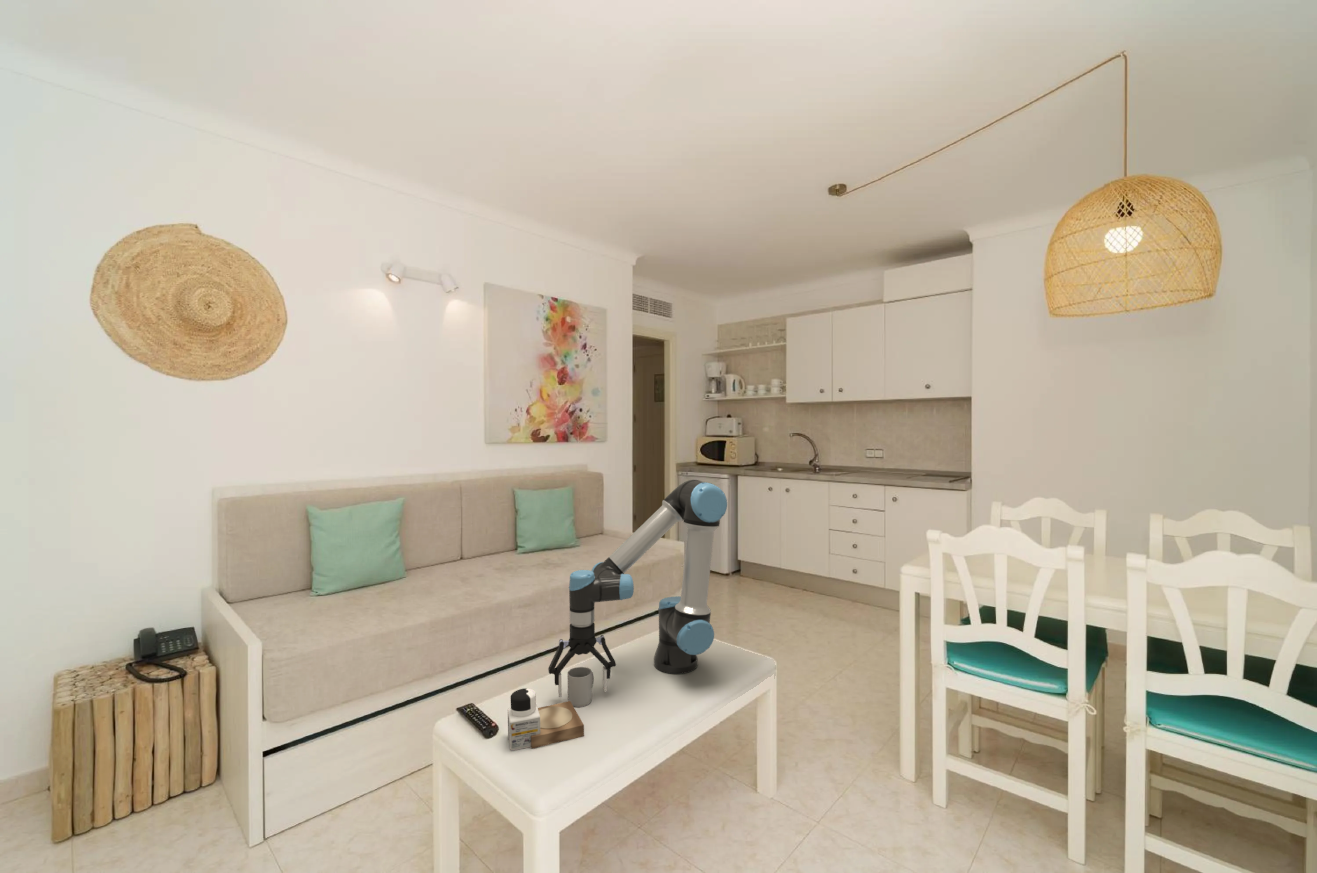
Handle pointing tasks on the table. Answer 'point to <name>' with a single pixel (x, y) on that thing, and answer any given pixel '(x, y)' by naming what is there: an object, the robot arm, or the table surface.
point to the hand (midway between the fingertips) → (582, 692)
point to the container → (523, 719)
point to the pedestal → (557, 724)
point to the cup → (580, 686)
